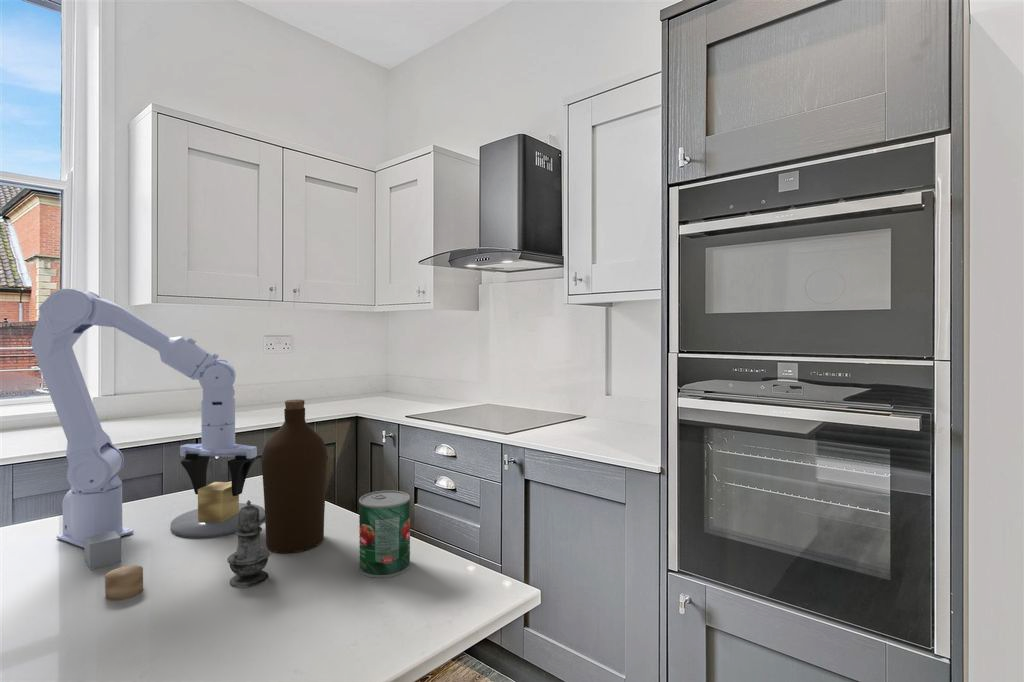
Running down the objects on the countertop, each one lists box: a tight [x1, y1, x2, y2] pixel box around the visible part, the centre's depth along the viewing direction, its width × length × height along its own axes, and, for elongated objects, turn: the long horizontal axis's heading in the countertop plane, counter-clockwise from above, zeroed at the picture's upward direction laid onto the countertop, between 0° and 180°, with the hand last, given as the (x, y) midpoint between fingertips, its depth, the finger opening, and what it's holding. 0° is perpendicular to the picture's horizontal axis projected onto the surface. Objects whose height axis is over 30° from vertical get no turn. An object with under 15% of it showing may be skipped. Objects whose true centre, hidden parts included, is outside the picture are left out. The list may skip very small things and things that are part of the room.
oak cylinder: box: [104, 564, 144, 601], centre depth 78 cm, size 4×4×3 cm
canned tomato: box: [358, 489, 411, 579], centre depth 86 cm, size 8×8×11 cm
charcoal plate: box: [170, 502, 265, 539], centre depth 105 cm, size 16×16×1 cm
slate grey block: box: [83, 531, 122, 570], centre depth 88 cm, size 4×4×4 cm
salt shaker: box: [226, 499, 271, 589], centre depth 82 cm, size 6×6×12 cm
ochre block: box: [197, 481, 240, 522], centre depth 105 cm, size 5×5×6 cm
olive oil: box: [261, 399, 329, 554], centre depth 95 cm, size 11×11×25 cm
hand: (218, 493), depth 105 cm, fingers open, 7 cm apart
